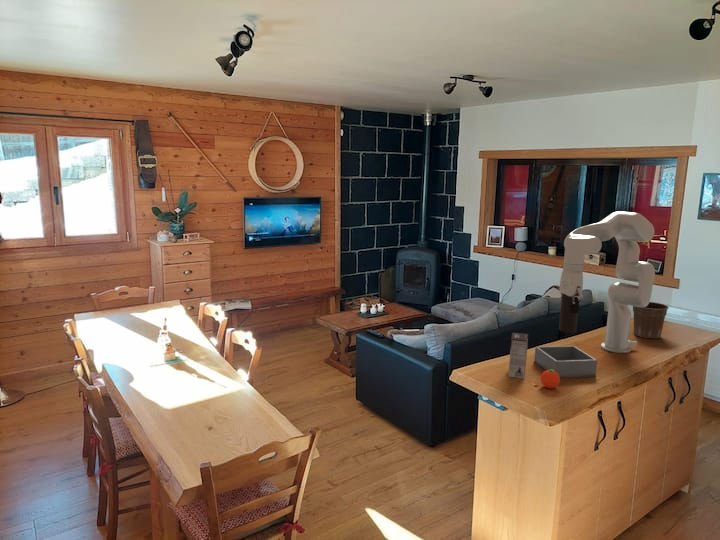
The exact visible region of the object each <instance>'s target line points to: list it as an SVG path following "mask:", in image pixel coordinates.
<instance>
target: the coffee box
mask: <svg viewBox="0 0 720 540" xmlns="http://www.w3.org/2000/svg"><path fill="white" fill-rule="evenodd" d="M528 343H529V334H528V333H521V332H520V333H519V332H511V338H510V350H509V352H510V353H509V361H508V362H509V363H508V364H509V366H508V377H509V378H517V379H526V378H525V377H526V366H527V355H528V345H529V344H528Z"/></svg>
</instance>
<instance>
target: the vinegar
mask: <svg viewBox="0 0 720 540" xmlns="http://www.w3.org/2000/svg"><path fill="white" fill-rule="evenodd" d="M574 296H577V295H574ZM560 298H561V297H560ZM576 298H577V297H574V299H576ZM571 303H572V297H569V296H567V295H566V294H562V298H561V300H560V309H559V310H560V312H559V324H558V330H559V331H560V332H563V333H568V334H569V333H571V334H572V333H576V332H577V328H578V327H577V326H578V316H579V312H578V313H570V310H571Z"/></svg>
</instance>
